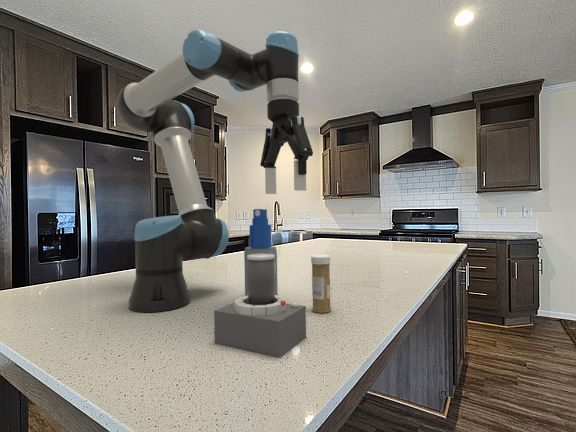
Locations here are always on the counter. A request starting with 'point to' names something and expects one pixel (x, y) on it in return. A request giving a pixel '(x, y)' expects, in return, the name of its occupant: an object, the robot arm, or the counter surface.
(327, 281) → the sprinkles bottle
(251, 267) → the grey cylinder
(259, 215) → the spray bottle
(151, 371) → the counter surface
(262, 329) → the grey block with ring
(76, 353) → the counter surface
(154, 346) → the counter surface
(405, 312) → the counter surface
